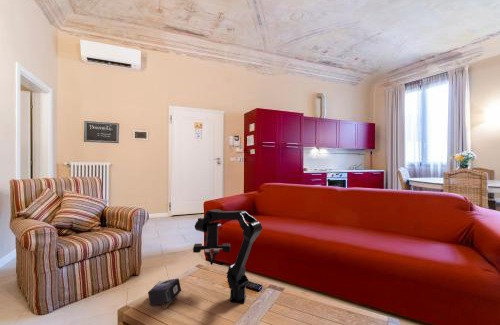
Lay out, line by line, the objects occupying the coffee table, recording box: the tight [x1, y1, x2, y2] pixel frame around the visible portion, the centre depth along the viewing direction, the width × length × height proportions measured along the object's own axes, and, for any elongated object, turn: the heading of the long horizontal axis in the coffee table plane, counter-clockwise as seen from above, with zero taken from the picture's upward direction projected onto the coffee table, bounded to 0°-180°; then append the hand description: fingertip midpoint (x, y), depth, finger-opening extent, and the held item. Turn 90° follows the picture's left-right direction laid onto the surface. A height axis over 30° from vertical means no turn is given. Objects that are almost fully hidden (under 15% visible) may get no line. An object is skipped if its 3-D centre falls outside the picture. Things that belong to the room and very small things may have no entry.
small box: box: [147, 278, 182, 306], centre depth 117 cm, size 11×6×10 cm
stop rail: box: [161, 303, 171, 310], centre depth 117 cm, size 2×14×2 cm, turn 171°
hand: (211, 264), depth 130 cm, fingers closed
